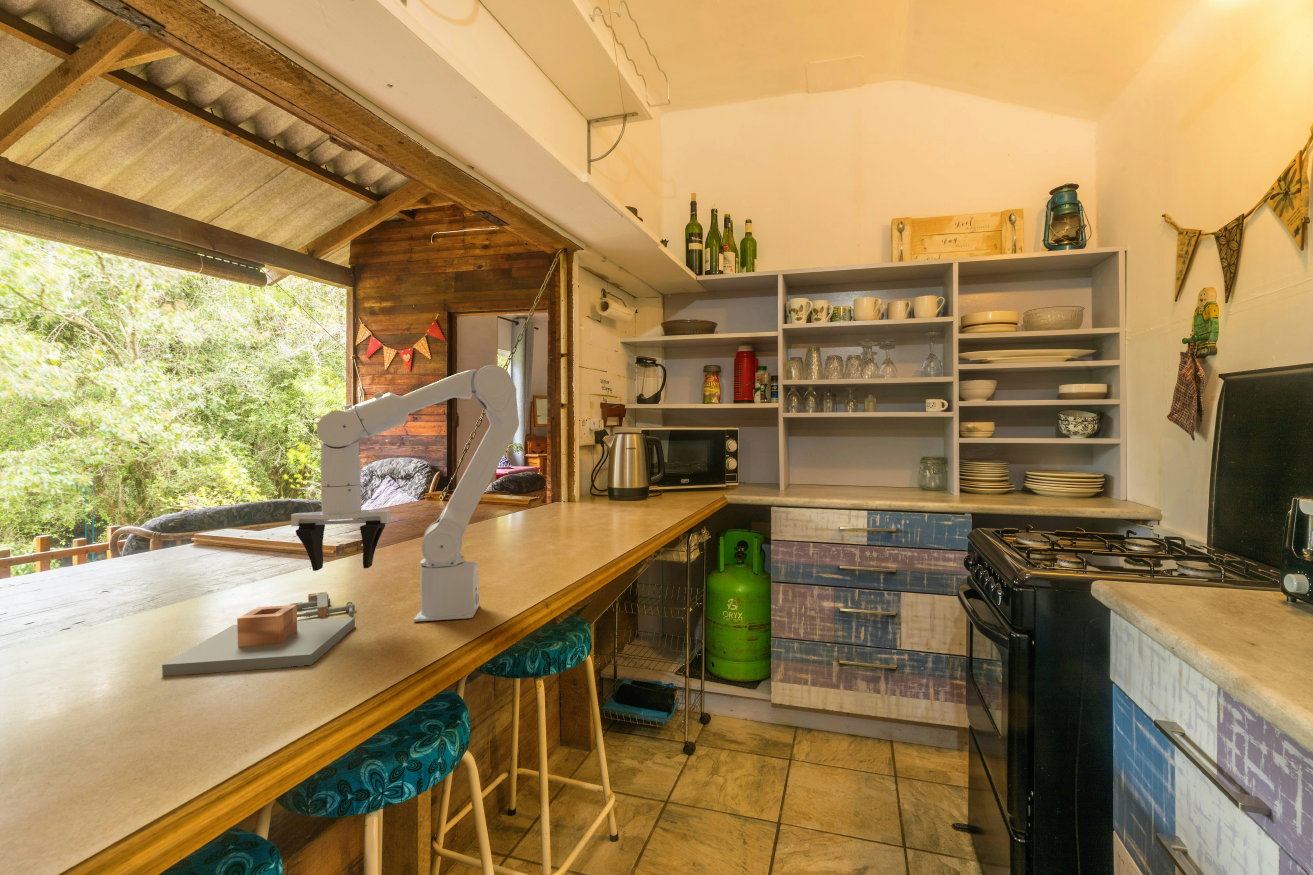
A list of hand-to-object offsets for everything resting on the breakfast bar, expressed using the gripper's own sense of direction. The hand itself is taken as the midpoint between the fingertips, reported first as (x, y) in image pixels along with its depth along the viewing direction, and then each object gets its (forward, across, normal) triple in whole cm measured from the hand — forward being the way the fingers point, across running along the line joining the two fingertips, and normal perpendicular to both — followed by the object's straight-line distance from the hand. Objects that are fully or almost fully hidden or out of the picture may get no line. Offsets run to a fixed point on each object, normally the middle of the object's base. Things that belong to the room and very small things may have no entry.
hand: (342, 568), depth 94 cm
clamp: (+10, -7, +9) cm, 16 cm away
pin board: (+9, -7, -9) cm, 15 cm away
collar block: (+8, -7, -9) cm, 14 cm away
